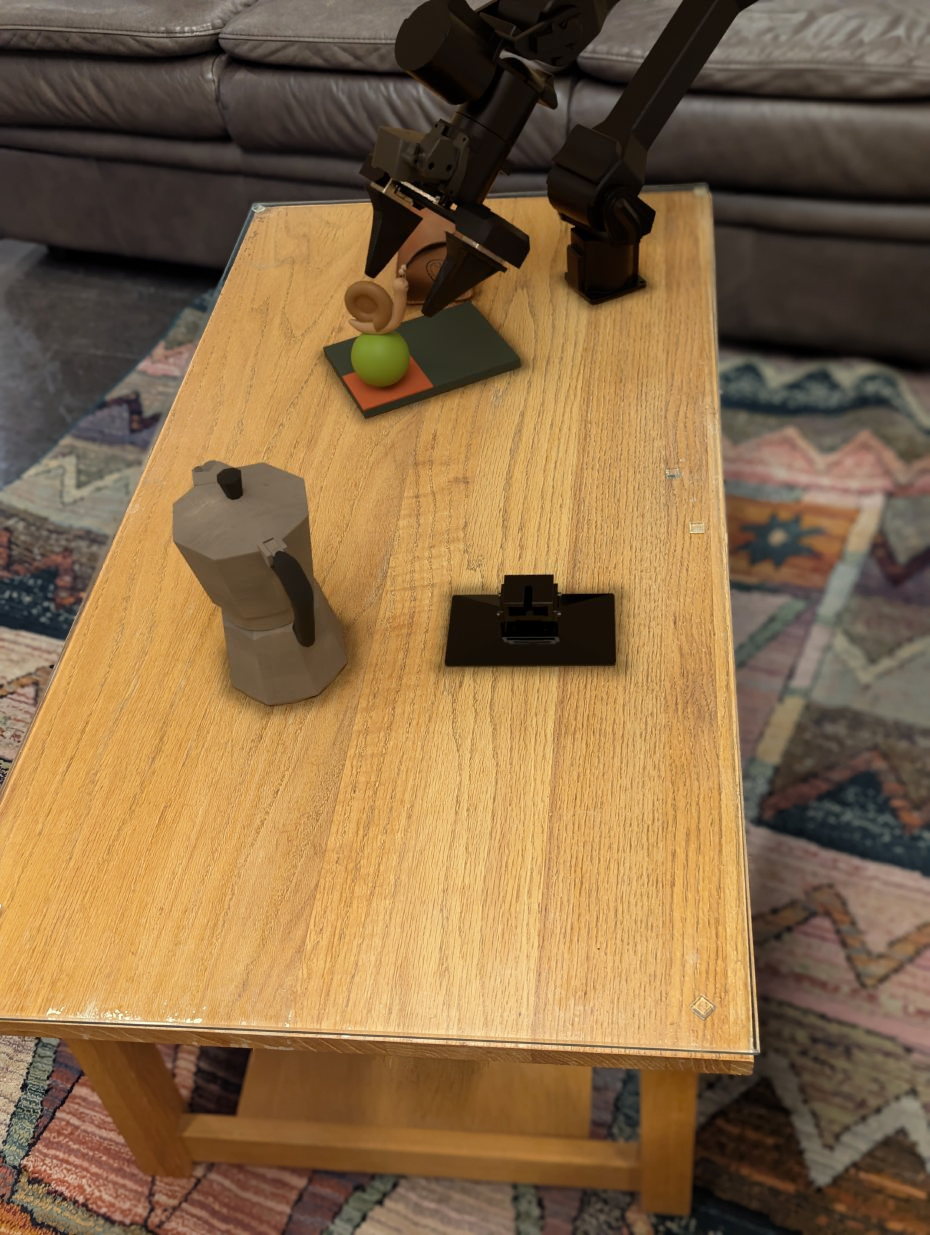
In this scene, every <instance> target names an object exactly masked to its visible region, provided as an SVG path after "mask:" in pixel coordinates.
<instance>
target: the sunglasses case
mask: <svg viewBox="0 0 930 1235" xmlns="http://www.w3.org/2000/svg"><path fill="white" fill-rule="evenodd" d="M435 204H436V203H435ZM436 205H437V204H436ZM438 206H439V205H438ZM451 209H452V210H454V211H455V209H454V208H451ZM410 210H411V211H413V212H414V213H416V214H417V215H419V216H421V217H422V218H423V220H422V221H421V223H420V224H419V225H418V226H417V228H416V229H415V230H414V231H413V233H412V234H411V235H410V236H409V238H408V239H407V240H406V241H405V243H404V244H403V245H402V246H401V248H400V249H399V250H398V252H397V257H396V258H397V259H396V268H395V269H396V270H395V279H397V278H405V273H406V280H407V282H408V291H407V302H406V306H414V305H415V306H416V305H418V306H421V305H422V306H423V305H424V302H425V299H426V297H427V295H428V293H429V290H430V288H431V286H432V284H433V282H434V280H435V278H436V276H437V274H438V272H439V270H440V268H441V266H442V263H443V261H444V259H445V257H446V254H447V250H446V231H448V232H449V233H451V234H453V235H454V236H456V237H458V238H459V239H462V237H463V235H462V234H461V233H459V232H457V231H456V230H455V224H453V223H451V222H449V221H448V220H446V219H444V218H443V217H441V216H439V215H437V214H436V213H434V212H432V211H431V210H429V209H427V208H424V209H422V210H421V211H419V210H417V209H416V208H414V207H411V209H410ZM403 264H405V265H406V266H407V269H406V271H405V273H404V275H403V277H402V275H400V274H399V269H401V266H402V265H403ZM474 288H475V287H473V288H471V289H470V290H468V291H467V292H466V293H464V294H463V295H461V296H460V297H459V298H457V299H456V300H454V301H453V302H459V301H465V300H468V299H471V298H473V297H474V295H475V293H474V292H475V289H474ZM453 302H452V303H453Z"/></svg>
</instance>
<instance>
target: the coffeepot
mask: <svg viewBox="0 0 930 1235" xmlns="http://www.w3.org/2000/svg"><path fill="white" fill-rule="evenodd" d="M191 476H192V484H193V486H192V487H191V488H190V489H188V490H187V491H186V492H185V493H184V494H183V495H181V497H179V498H178V499H176V500H175V501H174V502H173V503H172V542H173V543H174V545H175V546H176V548H177V549H178V551H179V552H180V553H179V554H181V556H182V557H183V559H184V561H185V562H186V563H187V565H188V567H189V568H190V570H191V572H192V573H193V575H194V576H195V577H196V579H197V581H198V582H199V585H201V587H202V588H203V591H204V592H205V593H206V595H207V596H208V598H209V599H210V601H211V603H212V604H214V605H215V606H217V607H219V608H220V609H221V618H222V627H223V633H224V641H225V649H226V654H227V662H228V670H229V676H230V682H231V683H230V684H231V687H232V688H234V689H236V690H238V691H239V692H241V693H243V694H244V695H245V696H247V697H248V698H250V699H252V700H254V701H257V702H259V703H263V704H265V705H267V706H275V705H288V704H294V703H297V702H298V703H299V702H301V701H305V700H307V699H309V698H312V697H315V696H318V695H319V694H320V693H321V692H323V691H324V690H325V689H326V688H327V687H328V686H330V685H331V684H332V683H333V682H334V680H336V678H337V677H338V676H339V674H340V672H341V671H342V669H343V668H344V667H345V666H346V664H347V663H348V657H347V656H348V655H347V649H346V643H345V637H344V630H343V626H342V625H341V623H340V621H339V619H338V617H337V615H336V613H335V612H334V610H333V608H332V606H331V604H330V603H329V600H328V598H327V596H326V594H325V593H324V591H323V589H322V587H321V585H320V584H319V582H318V580H317V579H316V577H315V574H314V562H313V551H312V539H311V526H310V511H309V503H308V496H307V489H306V482H305V478H304V477H301V476H298V475H296V474H294V473H291V472H288V471H286V470H285V469H282V468H279V467H277V466H274V465H272V464H269V463H267V462H264V461H262V462H257V463H253V464H252V463H251V464H246V465H241V466H237V467H236V466H235V467H234V466H232V465H230V464H227V463H225V462H222V461H220V460H216V459H211V460H208V461H205V462H204V463H203V464H202V465H196V466H194V468H192V469H191Z"/></svg>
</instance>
